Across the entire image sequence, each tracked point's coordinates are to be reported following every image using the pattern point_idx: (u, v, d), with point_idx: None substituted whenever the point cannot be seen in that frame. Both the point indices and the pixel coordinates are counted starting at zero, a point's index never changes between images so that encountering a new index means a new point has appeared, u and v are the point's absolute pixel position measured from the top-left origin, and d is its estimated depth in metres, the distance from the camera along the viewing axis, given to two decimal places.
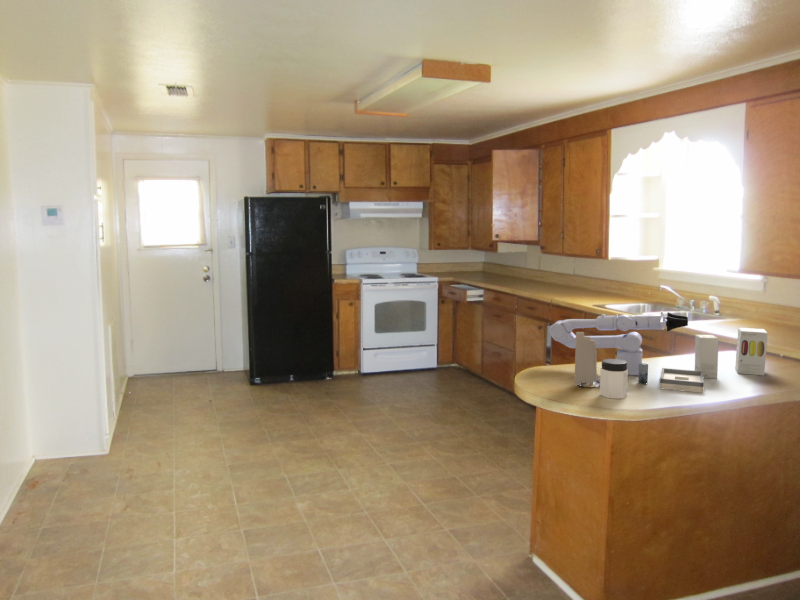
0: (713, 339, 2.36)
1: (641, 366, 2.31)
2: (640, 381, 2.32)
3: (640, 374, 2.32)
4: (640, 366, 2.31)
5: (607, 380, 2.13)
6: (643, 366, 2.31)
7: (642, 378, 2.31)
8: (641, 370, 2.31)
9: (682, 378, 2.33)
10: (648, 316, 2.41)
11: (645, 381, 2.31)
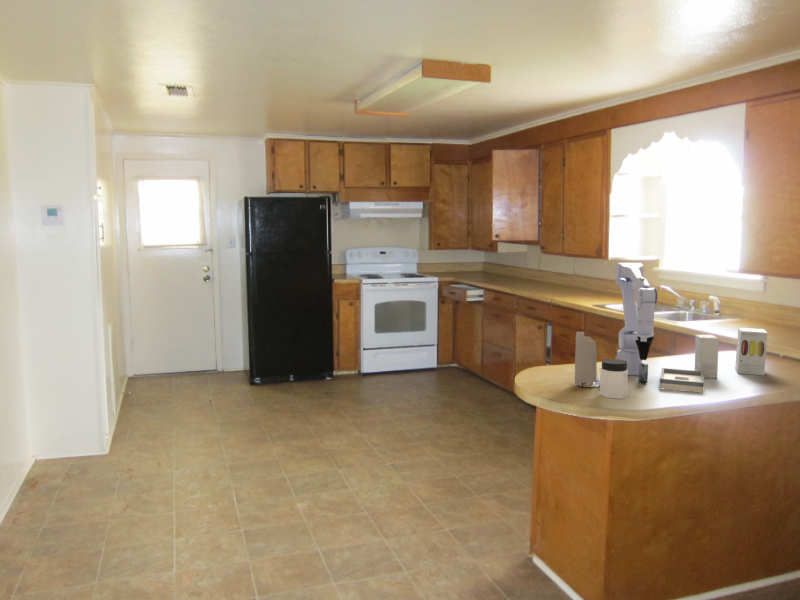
0: (713, 339, 2.36)
1: (641, 366, 2.31)
2: (640, 381, 2.32)
3: (640, 374, 2.32)
4: (640, 366, 2.31)
5: (607, 380, 2.13)
6: (643, 366, 2.30)
7: (642, 378, 2.31)
8: (641, 370, 2.31)
9: (682, 378, 2.33)
10: None
11: (645, 381, 2.31)
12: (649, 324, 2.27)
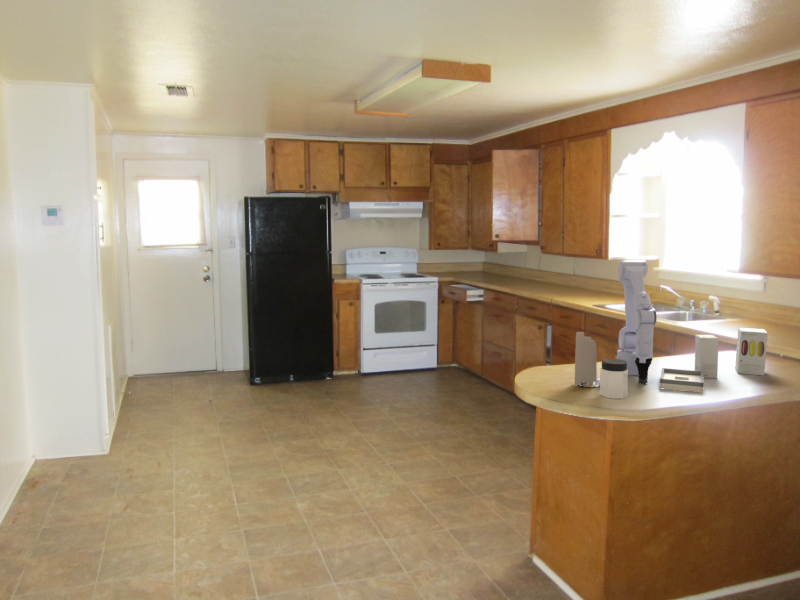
0: (713, 339, 2.36)
1: None
2: (640, 381, 2.32)
3: None
4: None
5: (607, 380, 2.13)
6: None
7: None
8: None
9: (682, 378, 2.33)
10: None
11: (645, 381, 2.31)
12: (648, 345, 2.28)
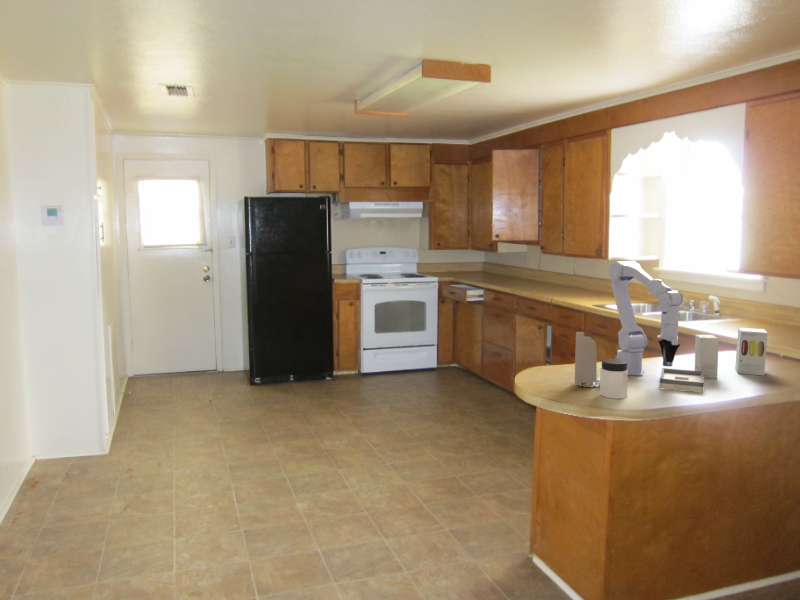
0: (713, 339, 2.36)
1: None
2: (666, 364, 2.29)
3: None
4: None
5: (607, 380, 2.13)
6: None
7: None
8: None
9: (682, 378, 2.33)
10: None
11: (671, 363, 2.29)
12: (675, 327, 2.26)
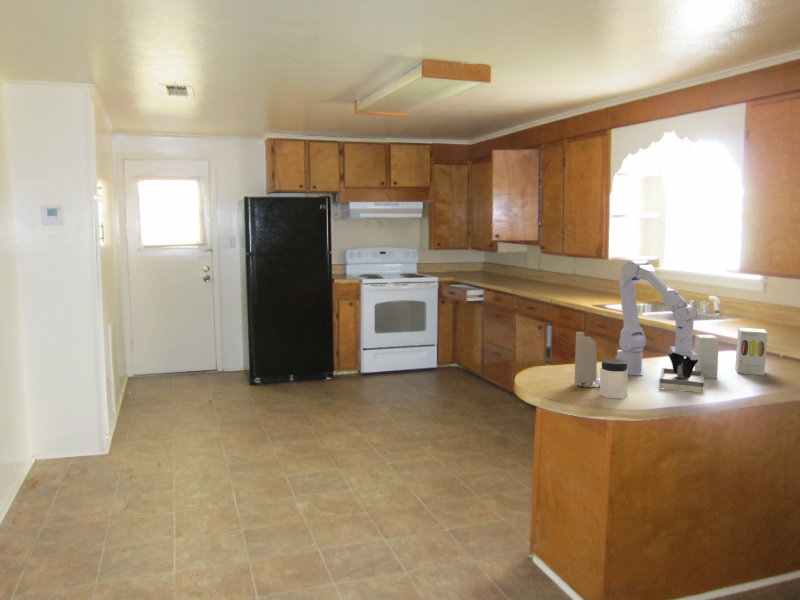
0: (713, 339, 2.36)
1: None
2: None
3: (681, 375, 2.29)
4: (681, 367, 2.29)
5: (607, 380, 2.13)
6: None
7: (684, 379, 2.29)
8: None
9: None
10: (675, 338, 2.30)
11: None
12: (691, 341, 2.27)
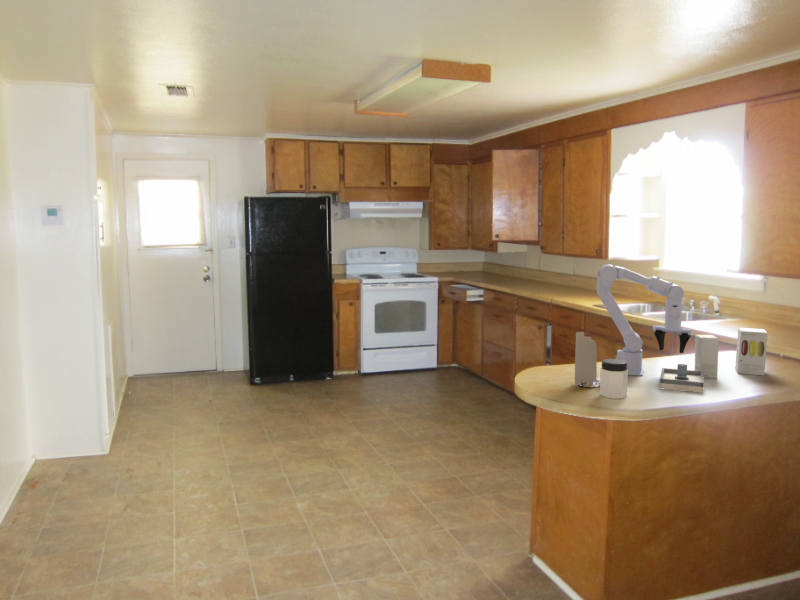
0: (713, 339, 2.36)
1: (683, 367, 2.29)
2: None
3: (681, 375, 2.29)
4: (681, 367, 2.29)
5: (607, 380, 2.13)
6: (685, 367, 2.29)
7: (684, 379, 2.29)
8: (683, 371, 2.29)
9: None
10: (666, 316, 2.40)
11: None
12: None
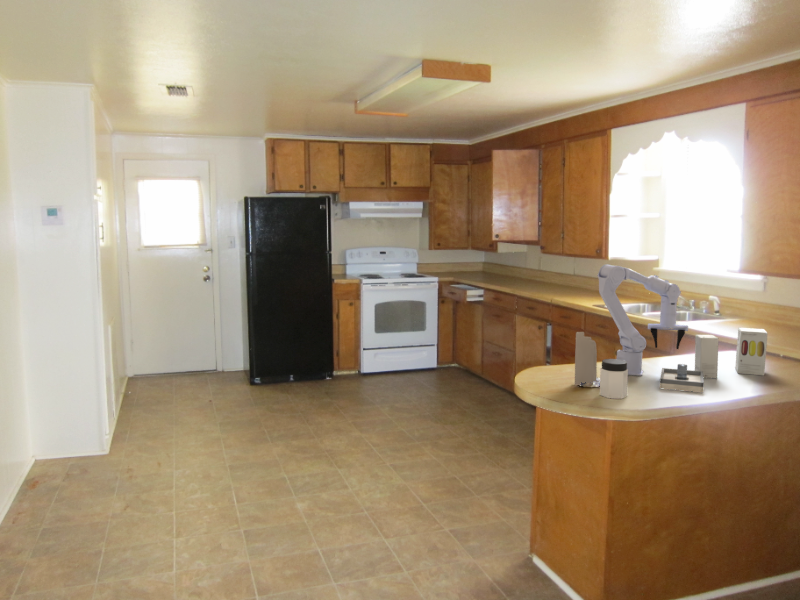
0: (713, 339, 2.36)
1: (683, 367, 2.29)
2: None
3: (681, 375, 2.29)
4: (681, 367, 2.29)
5: (607, 380, 2.13)
6: (685, 367, 2.29)
7: (684, 379, 2.29)
8: (683, 371, 2.29)
9: None
10: (664, 314, 2.45)
11: None
12: None
